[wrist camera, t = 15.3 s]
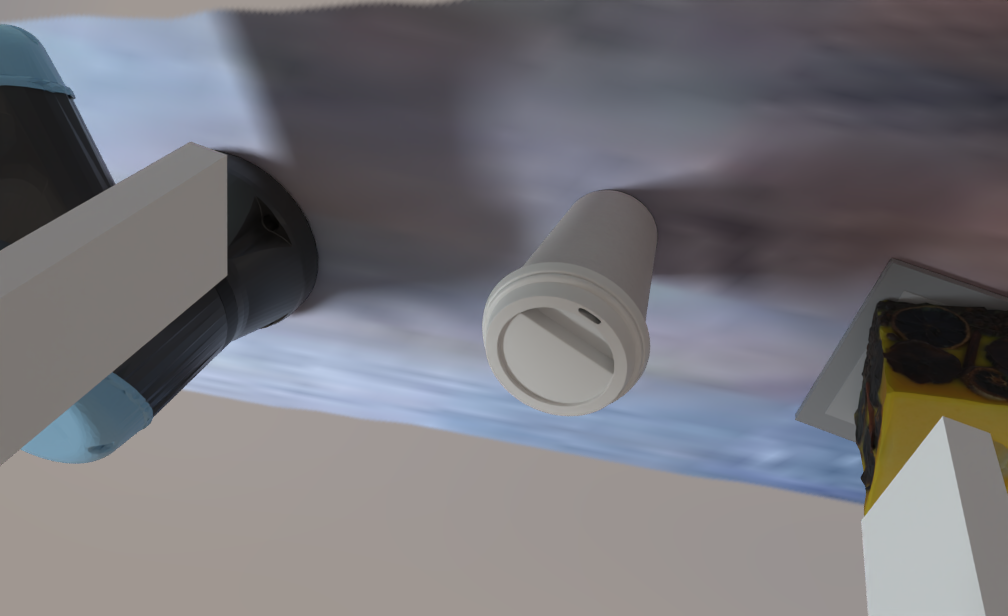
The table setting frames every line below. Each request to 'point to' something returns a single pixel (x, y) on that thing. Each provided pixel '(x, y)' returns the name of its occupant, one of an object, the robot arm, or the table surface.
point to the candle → (929, 383)
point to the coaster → (843, 372)
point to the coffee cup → (577, 309)
